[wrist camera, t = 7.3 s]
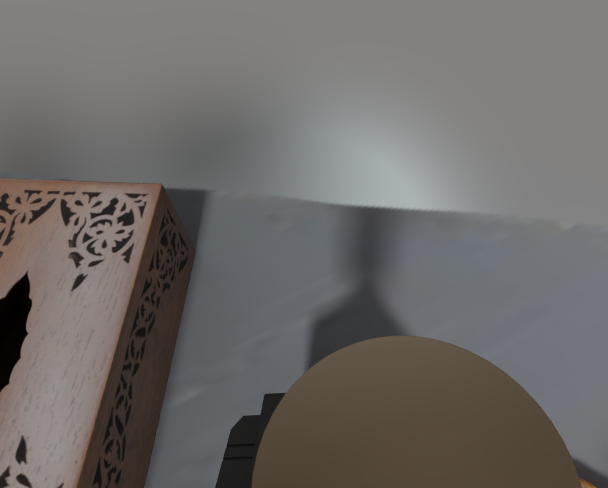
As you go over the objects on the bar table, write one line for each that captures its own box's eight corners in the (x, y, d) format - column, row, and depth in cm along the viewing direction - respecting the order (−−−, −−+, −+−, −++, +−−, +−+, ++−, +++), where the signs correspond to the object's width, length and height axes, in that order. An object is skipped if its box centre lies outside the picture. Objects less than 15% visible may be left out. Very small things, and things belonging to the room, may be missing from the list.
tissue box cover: (116, 618, 30) (30, 652, 22) (-101, 594, 31) (-265, 617, 23) (196, 253, 43) (162, 183, 35) (40, 246, 44) (-31, 177, 36)
